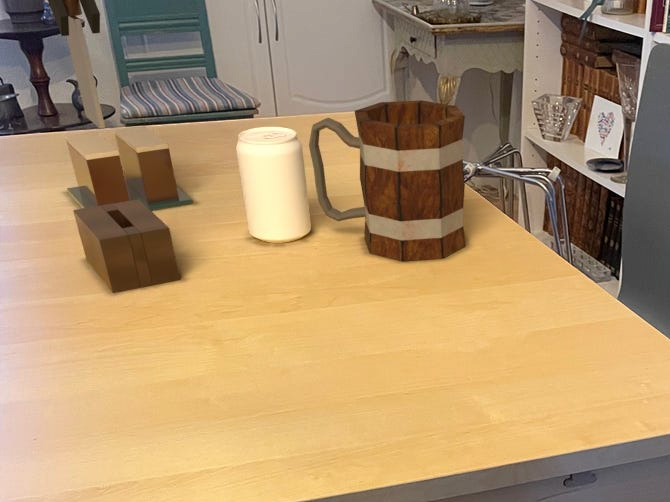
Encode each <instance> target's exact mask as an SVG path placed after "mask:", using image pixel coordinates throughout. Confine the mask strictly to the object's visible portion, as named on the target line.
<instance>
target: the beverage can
mask: <svg viewBox="0 0 670 502" xmlns="http://www.w3.org/2000/svg"><path fill="white" fill-rule="evenodd" d="M237 136H238V137H237V138H238V141H237V143H236V146H235V150H236V151H235V152H236V157H237V163H238V170H239V174H240V175H239V177H240V182H241V183H240V184H241V190H242V195H243V203H244V208H245V215H246V223H247V229H248V232H249V235H251V236H252V237H254V239H255V238H256V239H258V240H260V241H263V242H266V243H273V244H274V243H276V244H279V243H280V244H281V243H283V244H284V243H290V242H294V241H297V240H300V239H301V238H303V237H304V236H307V234H309V233H310V232H311V230H312V223H311V215H310V206H309V196H308V189H307V180H306V179H307V178H306V169H305V161H304V151H303V143H302V142H301V140H300V139H299V138H298V133H297V131H295V130H294V129H291V128H287V127H282V126H261V127H253V128H249V129H245V130H243V131H241V132H239V133H238V135H237Z"/></svg>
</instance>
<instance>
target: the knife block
mask: <svg viewBox="0 0 670 502" xmlns="http://www.w3.org/2000/svg"><path fill="white" fill-rule="evenodd" d="M73 215H74V219H75V222H76V226H77V230H78V233H79V237H80V241H81V245H82V248H83V252H84V256H85V260H86V261H87V262H88V264H89V265H90V267H91V268H92V269H93V270H94V272H96V274H97V275H98V276H99V278H100V279H101V280H102V281H103V283H104V284H105V285H106V286H107V288H108V289H109V290H110V291H111V292H112V293H113V294H114V293H119V292H124V291H125V292H126V291H129V290H135V289H139V288H144V287H149V286H150V287H151V286H156V285H159V284H164V283H170V282H174V281H175V282H176V281H179V280H181V278H180V272H179V268H178V263H177V258H176V254H175V250H174V244H173V238H172V234H171V230H170V229H171V228H170V227H169V226H168V225H167V224H166V223H165V222H164V221H163V220H162V219H161V218H159V216H157V215H156V214H155V212H154V211H153V210H150V209H149V208H148V207H147V206H146V205H144V204H143V203H142V202H141V201H140V200H139V199H138V200H132V201H126V202H119V203H113V204H107V205H101V206H95V207H89V208H77V209H73Z"/></svg>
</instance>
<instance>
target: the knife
mask: <svg viewBox="0 0 670 502" xmlns="http://www.w3.org/2000/svg"><path fill="white" fill-rule="evenodd" d="M62 1H63V4H64V6H65V9H66V11H67V14H68V19H69V36H66V40H67V44H68V49H69V52H70V56H71V60H72V64H73V65H72V66H73V68H74V72H75V77H76V82H77V84H78V90H79V93H80V97H81V101H82V106H83V111H84V114H85V117H86V118H87V119H88V120H89V121H90V122H91V123H93V124H94V125H95V126H97V128H99V129H100V130H101V129H106V124H105V119H104V115H103V112H102V111H103V110H102V107H101V103H100V97H99V94H98V89H97V86H96V81H95V77H94V72H93V68H92V63H91V58H90V56H89V55H90V54H89V50H88V46H87V42H86V38H85V33H84V29H83V25H82V20H81V18H80V17H78V16H81V15H83V11H82V10H83V9H82V5H81V3H80V0H62Z"/></svg>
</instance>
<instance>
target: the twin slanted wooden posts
mask: <svg viewBox="0 0 670 502" xmlns="http://www.w3.org/2000/svg"><path fill="white" fill-rule="evenodd" d="M113 131H114V135H115V140H116V144H117V148H118V149H117V148H116V147H115V146H113V145H112V144H111V143H110V142H109V140H107V139H105V138H104V137H103V136H102V135H101V134H100V133H99V132H97V131H93V132H87V133H86V132H85V133H79V134H71V135H65V141H66V145H67V150H68V153H69V156H70V160H71V163H72V169H73V170H74V176H75V179H76V183H77V186H73V187H67V188H66V191H67V193H68V194H69V196H70V197H71V198H72V199H73V200H74V202H76V203H77V204H78V206H79V207H80V209H82V208H89V207H95V206H101V205H107V204H113V203H119V202H126V201H132V200H138V199H139V200H140V201H141V202H142V203H143V204H144V205H146V206H147V207H148V208H149V209H150V210H151V211H156V210H162V209H163V210H164V209H168V208H175V207H180V206H181V207H182V206H186V205H192V204H193V198H192V197H190V195H187V194H186V193H185V192H184V191H182V189H181V188H180V187H178V186H177V181H176V177H175V172H174V166H173V162H172V156H171V151H170V146H169V142H167V141H165V140H164V139H163V138H161V137H160V136H159V135H158V134H156V133H154V131H152V130H150V128H148V127H147V126H146V125H140V126H133V127H125V128H117V129H113Z"/></svg>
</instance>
